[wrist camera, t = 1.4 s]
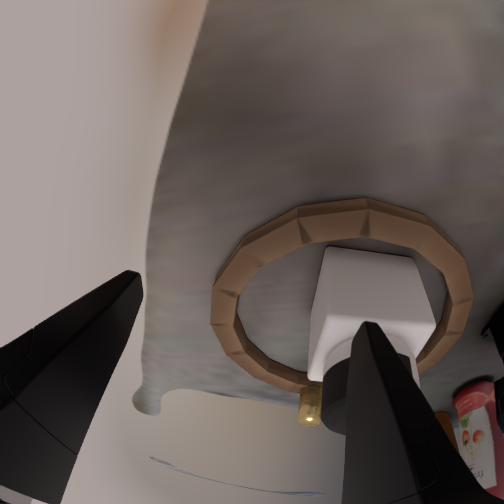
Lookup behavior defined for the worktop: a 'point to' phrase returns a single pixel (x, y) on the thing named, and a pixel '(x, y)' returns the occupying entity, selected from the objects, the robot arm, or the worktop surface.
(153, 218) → the worktop surface
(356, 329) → the medicine bottle
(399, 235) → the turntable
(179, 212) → the worktop surface
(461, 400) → the liquor
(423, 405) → the robot arm
